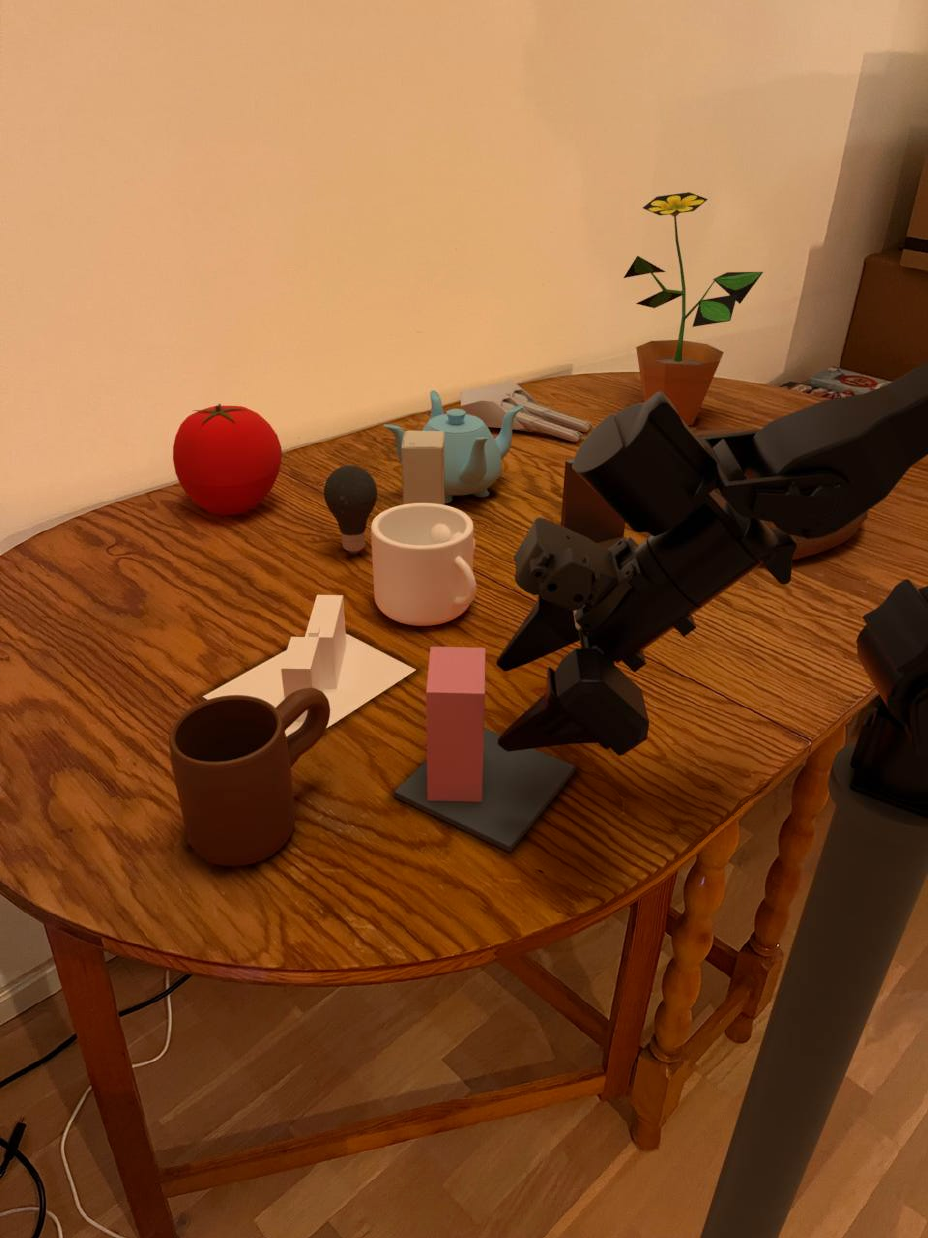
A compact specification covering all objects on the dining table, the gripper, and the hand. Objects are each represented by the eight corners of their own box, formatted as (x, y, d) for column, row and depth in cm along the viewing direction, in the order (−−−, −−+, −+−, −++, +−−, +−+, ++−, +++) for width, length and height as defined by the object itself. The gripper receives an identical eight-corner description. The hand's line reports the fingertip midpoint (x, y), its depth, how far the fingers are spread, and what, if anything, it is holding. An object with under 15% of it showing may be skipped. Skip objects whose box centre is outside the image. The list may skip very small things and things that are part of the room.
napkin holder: (329, 624, 88) (325, 573, 85) (417, 669, 82) (416, 615, 79) (201, 697, 78) (191, 641, 75) (290, 753, 72) (283, 696, 69)
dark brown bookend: (669, 585, 95) (685, 478, 88) (605, 603, 92) (617, 494, 85) (617, 548, 102) (629, 447, 95) (557, 564, 98) (565, 460, 92)
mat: (575, 771, 71) (575, 765, 70) (509, 853, 64) (510, 847, 63) (466, 726, 75) (466, 720, 75) (394, 797, 68) (393, 791, 68)
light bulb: (324, 543, 102) (317, 459, 96) (373, 537, 103) (369, 454, 98) (333, 567, 97) (327, 480, 92) (385, 560, 99) (381, 474, 93)
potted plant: (591, 402, 142) (610, 191, 126) (705, 396, 145) (737, 189, 129) (629, 444, 128) (656, 212, 111) (754, 437, 131) (798, 209, 114)
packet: (482, 752, 71) (485, 647, 66) (482, 802, 67) (485, 693, 61) (431, 751, 72) (430, 646, 66) (427, 801, 67) (425, 692, 62)
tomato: (178, 532, 104) (160, 426, 97) (184, 490, 113) (168, 390, 107) (288, 524, 106) (278, 419, 99) (285, 483, 115) (275, 385, 109)
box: (443, 560, 99) (443, 448, 92) (403, 559, 99) (400, 447, 92) (445, 537, 103) (445, 429, 96) (406, 537, 103) (404, 428, 96)
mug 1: (303, 752, 72) (293, 654, 67) (366, 800, 68) (359, 699, 63) (167, 830, 65) (144, 727, 60) (227, 890, 60) (207, 784, 55)
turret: (569, 462, 127) (577, 431, 125) (442, 418, 133) (447, 387, 130) (592, 439, 135) (600, 409, 132) (472, 398, 140) (477, 368, 138)
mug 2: (513, 613, 90) (517, 531, 85) (436, 654, 84) (436, 568, 79) (431, 569, 97) (430, 491, 92) (354, 604, 91) (349, 522, 86)
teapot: (522, 479, 117) (526, 403, 112) (481, 521, 107) (483, 439, 102) (431, 462, 122) (431, 387, 116) (384, 500, 111) (381, 420, 106)
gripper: (581, 435, 64) (427, 569, 70) (611, 564, 48) (409, 723, 55) (678, 536, 68) (525, 655, 74) (736, 685, 53) (535, 821, 59)
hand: (500, 704), depth 65 cm, fingers open, 9 cm apart
